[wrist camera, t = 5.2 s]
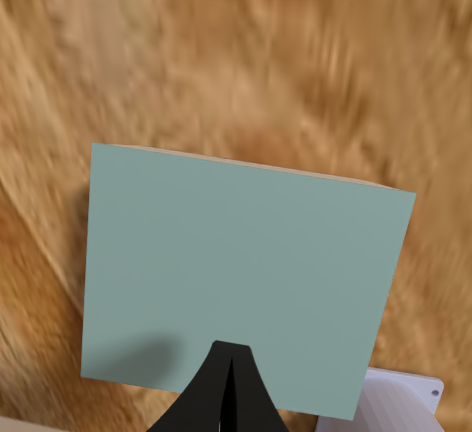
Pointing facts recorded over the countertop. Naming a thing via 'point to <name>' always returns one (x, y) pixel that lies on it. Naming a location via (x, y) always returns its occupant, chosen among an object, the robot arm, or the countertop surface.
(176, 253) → the lid
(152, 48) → the countertop surface
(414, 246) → the countertop surface
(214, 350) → the robot arm
